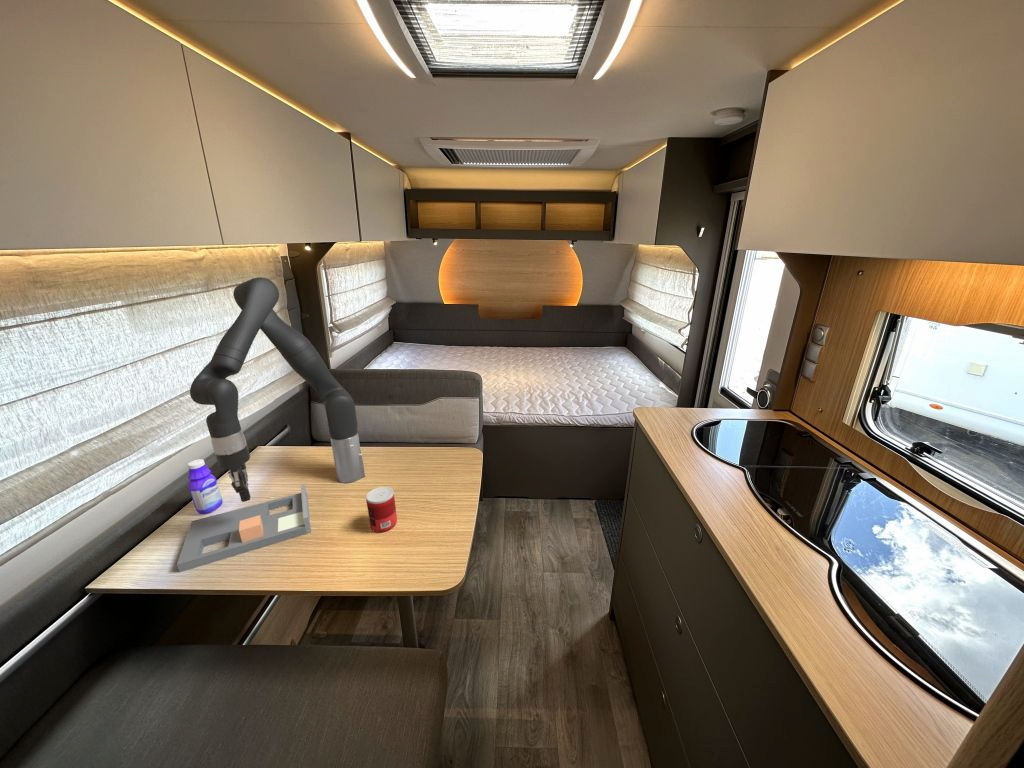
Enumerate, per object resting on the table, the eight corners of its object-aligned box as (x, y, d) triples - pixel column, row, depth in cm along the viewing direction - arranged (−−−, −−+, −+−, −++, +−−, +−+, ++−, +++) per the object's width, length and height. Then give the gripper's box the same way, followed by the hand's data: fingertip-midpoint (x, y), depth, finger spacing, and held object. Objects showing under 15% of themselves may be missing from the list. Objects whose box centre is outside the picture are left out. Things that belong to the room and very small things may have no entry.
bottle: (207, 517, 125) (192, 468, 120) (192, 514, 127) (177, 467, 121) (227, 503, 132) (214, 457, 127) (213, 501, 133) (199, 455, 128)
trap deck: (307, 497, 135) (304, 483, 133) (311, 532, 118) (307, 517, 116) (193, 527, 121) (188, 512, 119) (179, 572, 104) (173, 555, 102)
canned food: (402, 519, 124) (398, 488, 120) (386, 535, 116) (382, 504, 113) (381, 514, 126) (377, 484, 122) (365, 530, 119) (360, 499, 115)
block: (263, 526, 117) (260, 515, 116) (263, 536, 113) (260, 524, 112) (243, 532, 115) (239, 520, 113) (242, 542, 111) (238, 530, 109)
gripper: (216, 441, 114) (232, 492, 120) (211, 461, 103) (229, 516, 109) (247, 434, 117) (261, 484, 123) (245, 453, 106) (261, 507, 112)
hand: (246, 499), depth 116 cm, fingers closed
